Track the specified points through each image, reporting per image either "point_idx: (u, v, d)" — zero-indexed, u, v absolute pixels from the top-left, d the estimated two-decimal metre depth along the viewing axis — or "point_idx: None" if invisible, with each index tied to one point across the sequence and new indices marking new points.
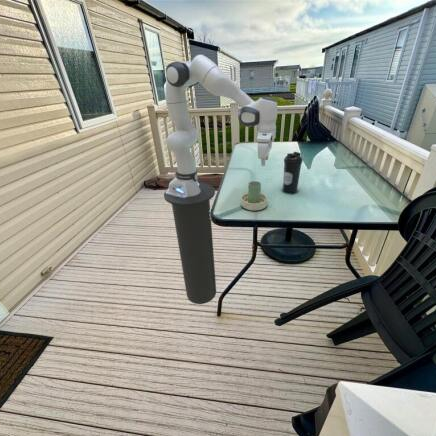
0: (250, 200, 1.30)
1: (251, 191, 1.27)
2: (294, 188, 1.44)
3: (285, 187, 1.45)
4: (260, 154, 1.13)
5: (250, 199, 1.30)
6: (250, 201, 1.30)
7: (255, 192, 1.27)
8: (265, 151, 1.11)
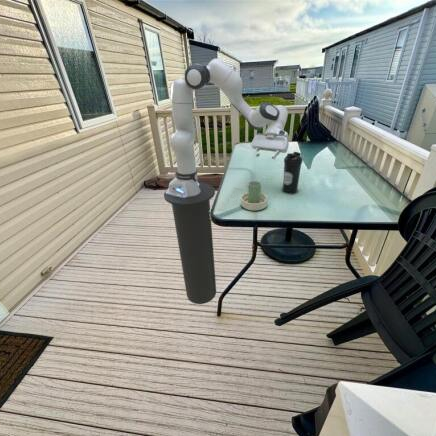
0: (250, 200, 1.30)
1: (251, 191, 1.27)
2: (294, 188, 1.44)
3: (285, 187, 1.45)
4: (286, 147, 1.27)
5: (250, 199, 1.30)
6: (250, 201, 1.30)
7: (255, 192, 1.27)
8: None
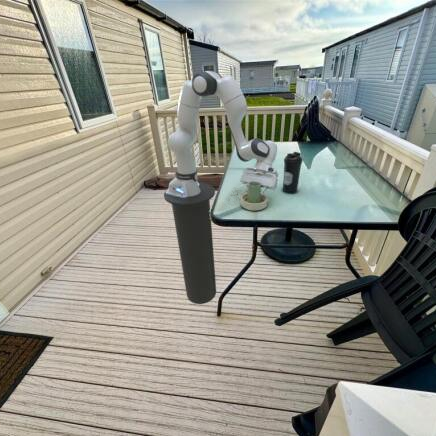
0: (250, 200, 1.30)
1: (250, 191, 1.27)
2: (294, 188, 1.44)
3: (285, 187, 1.45)
4: (275, 184, 1.26)
5: (250, 199, 1.30)
6: (250, 201, 1.30)
7: (255, 192, 1.27)
8: (276, 183, 1.28)
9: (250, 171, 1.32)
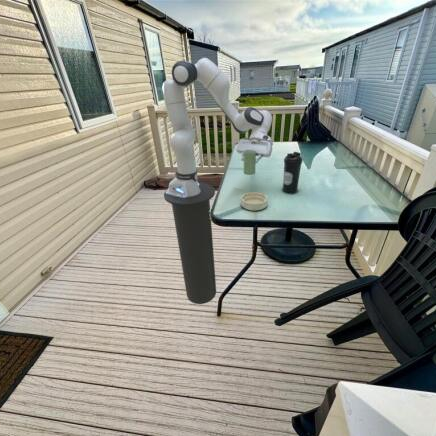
0: (245, 168, 1.33)
1: (246, 159, 1.30)
2: (294, 188, 1.44)
3: (285, 187, 1.45)
4: (270, 151, 1.29)
5: (245, 167, 1.33)
6: (245, 169, 1.33)
7: (250, 159, 1.29)
8: (271, 151, 1.31)
9: (245, 140, 1.35)
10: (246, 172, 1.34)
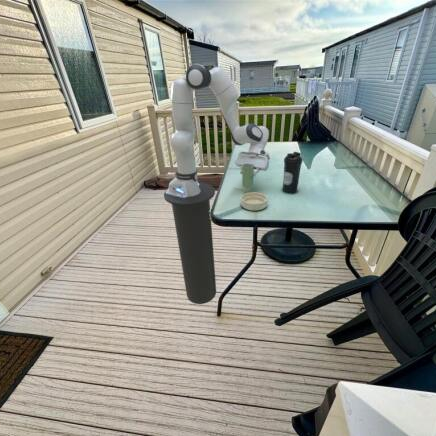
0: (244, 181, 1.41)
1: (244, 172, 1.38)
2: (294, 188, 1.44)
3: (285, 187, 1.45)
4: (267, 165, 1.37)
5: (244, 180, 1.41)
6: (244, 182, 1.41)
7: (248, 173, 1.38)
8: (268, 165, 1.39)
9: (244, 154, 1.43)
10: (245, 185, 1.42)
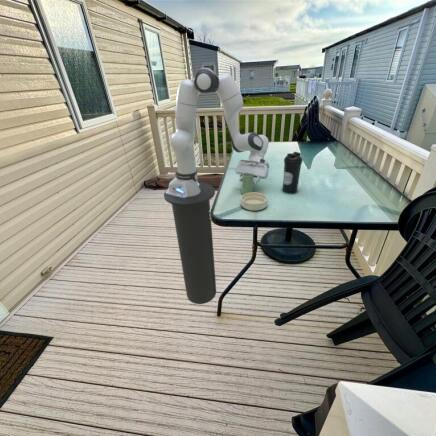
0: (244, 189, 1.44)
1: (244, 181, 1.41)
2: (294, 188, 1.44)
3: (285, 187, 1.45)
4: (266, 174, 1.39)
5: (244, 188, 1.43)
6: (244, 190, 1.44)
7: (248, 182, 1.40)
8: None
9: (244, 162, 1.46)
10: (244, 193, 1.45)
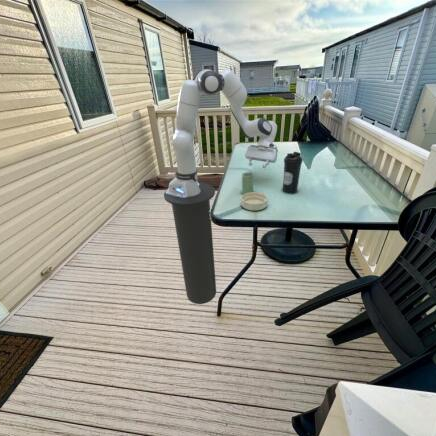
0: (244, 189, 1.44)
1: (244, 181, 1.41)
2: (294, 188, 1.44)
3: (285, 187, 1.45)
4: (275, 158, 1.46)
5: (244, 188, 1.43)
6: (244, 190, 1.44)
7: (248, 182, 1.40)
8: (276, 157, 1.48)
9: (253, 147, 1.52)
10: (244, 193, 1.45)
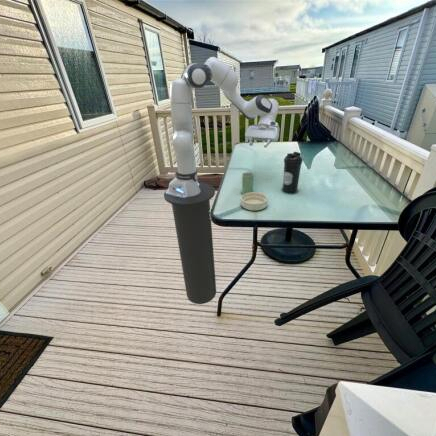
0: (244, 189, 1.44)
1: (244, 181, 1.41)
2: (294, 188, 1.44)
3: (285, 187, 1.45)
4: (277, 136, 1.39)
5: (244, 188, 1.43)
6: (244, 190, 1.44)
7: (248, 182, 1.40)
8: (278, 136, 1.42)
9: (254, 127, 1.46)
10: (244, 193, 1.45)
